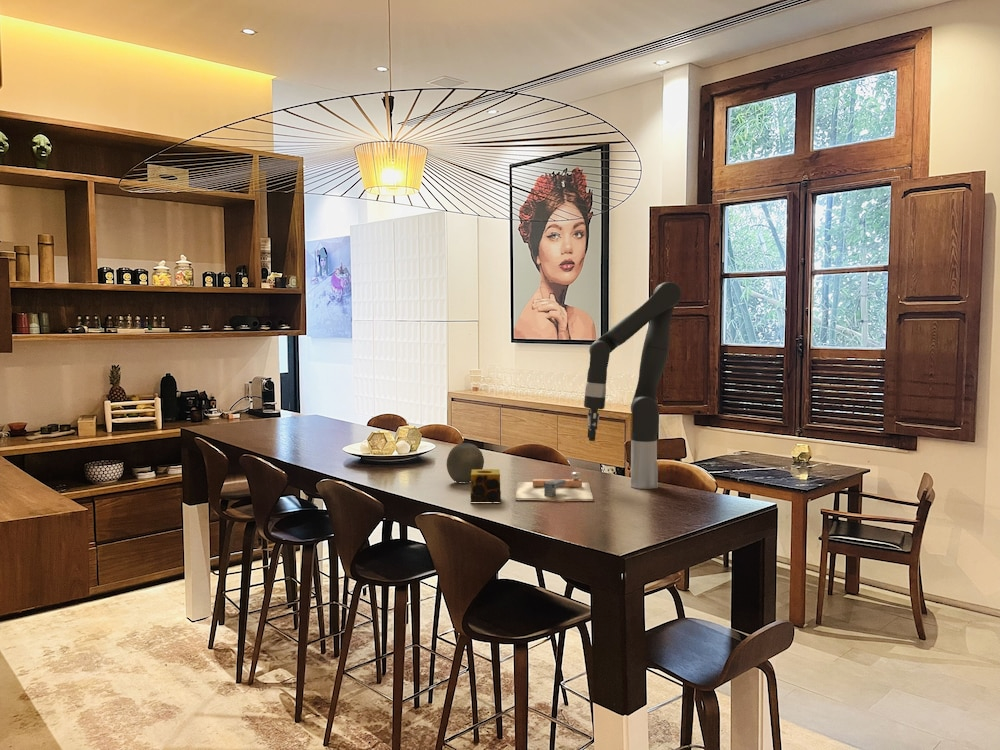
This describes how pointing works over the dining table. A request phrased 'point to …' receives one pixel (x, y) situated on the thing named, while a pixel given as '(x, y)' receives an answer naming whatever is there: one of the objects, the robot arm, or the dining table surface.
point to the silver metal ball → (575, 475)
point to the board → (562, 492)
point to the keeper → (552, 487)
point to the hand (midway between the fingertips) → (591, 439)
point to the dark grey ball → (464, 461)
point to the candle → (485, 485)
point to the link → (568, 481)
